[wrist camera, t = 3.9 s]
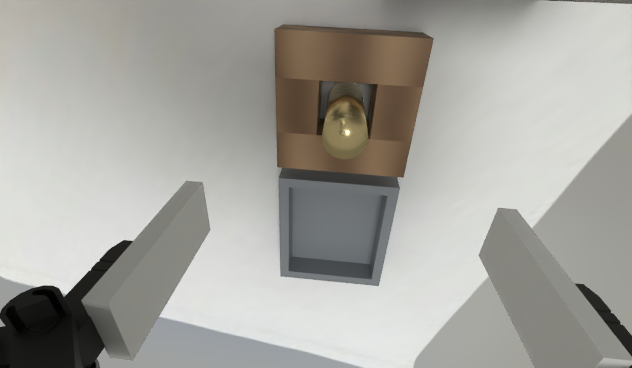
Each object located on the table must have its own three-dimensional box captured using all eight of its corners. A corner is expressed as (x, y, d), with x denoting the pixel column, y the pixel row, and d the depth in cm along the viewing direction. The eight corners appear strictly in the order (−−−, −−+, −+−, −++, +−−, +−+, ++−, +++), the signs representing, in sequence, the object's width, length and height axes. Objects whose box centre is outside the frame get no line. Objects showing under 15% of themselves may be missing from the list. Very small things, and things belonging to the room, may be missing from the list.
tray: (285, 256, 42) (280, 276, 39) (284, 162, 35) (278, 178, 32) (376, 264, 41) (378, 286, 38) (395, 170, 34) (399, 188, 31)
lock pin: (328, 112, 31) (320, 157, 23) (330, 79, 30) (323, 114, 21) (360, 114, 31) (365, 160, 23) (364, 81, 30) (371, 117, 21)
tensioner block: (284, 149, 34) (277, 167, 31) (283, 24, 28) (274, 29, 24) (397, 158, 33) (403, 177, 30) (422, 32, 27) (433, 38, 24)
